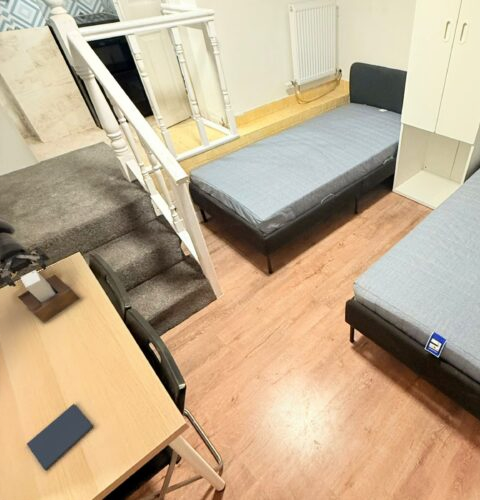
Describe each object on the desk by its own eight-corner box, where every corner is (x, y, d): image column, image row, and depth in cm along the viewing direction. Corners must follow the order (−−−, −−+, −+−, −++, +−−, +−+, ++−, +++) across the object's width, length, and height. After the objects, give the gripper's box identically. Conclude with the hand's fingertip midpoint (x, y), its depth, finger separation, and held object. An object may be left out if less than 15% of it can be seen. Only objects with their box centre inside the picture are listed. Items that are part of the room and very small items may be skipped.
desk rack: (43, 322, 102) (33, 313, 99) (27, 306, 107) (17, 296, 104) (79, 298, 109) (71, 288, 105) (63, 283, 114) (54, 274, 110)
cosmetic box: (44, 301, 108) (19, 276, 100) (58, 293, 111) (35, 269, 102) (49, 311, 105) (24, 287, 97) (64, 303, 107) (41, 279, 99)
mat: (46, 470, 74) (44, 469, 74) (28, 444, 78) (26, 443, 78) (93, 426, 80) (92, 425, 80) (75, 404, 84) (73, 403, 84)
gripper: (-24, 257, 104) (-7, 281, 96) (27, 233, 111) (46, 253, 104) (-6, 273, 109) (10, 297, 101) (41, 249, 117) (60, 270, 109)
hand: (28, 275), depth 103 cm, fingers open, 8 cm apart
